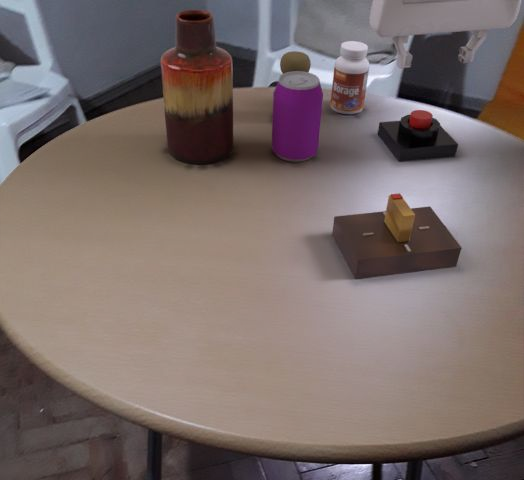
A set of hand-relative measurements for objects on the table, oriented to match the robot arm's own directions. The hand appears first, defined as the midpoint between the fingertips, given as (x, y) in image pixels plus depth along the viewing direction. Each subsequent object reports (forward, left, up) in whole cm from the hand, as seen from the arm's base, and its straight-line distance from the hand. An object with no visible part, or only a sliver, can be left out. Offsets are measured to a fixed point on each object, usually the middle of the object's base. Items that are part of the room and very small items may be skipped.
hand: (434, 64), depth 89 cm
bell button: (-4, -8, -13) cm, 16 cm away
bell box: (-4, -8, -17) cm, 19 cm away
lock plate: (+11, +20, -17) cm, 28 cm away
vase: (+32, -13, -17) cm, 38 cm away
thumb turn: (+11, +20, -14) cm, 26 cm away
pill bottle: (+3, -24, -17) cm, 30 cm away
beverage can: (+17, -9, -17) cm, 26 cm away
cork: (+14, -22, -17) cm, 31 cm away
